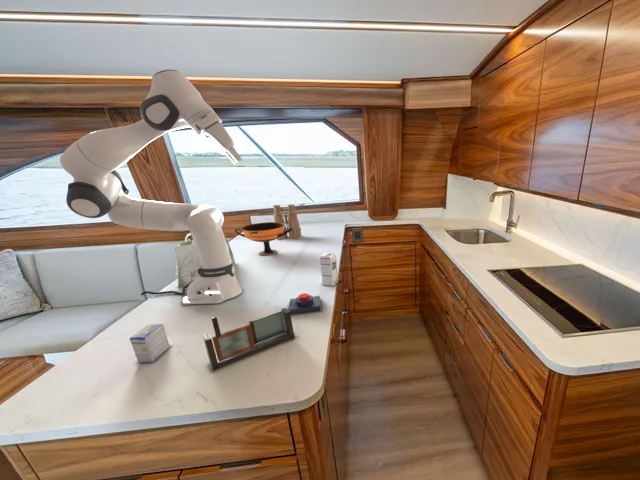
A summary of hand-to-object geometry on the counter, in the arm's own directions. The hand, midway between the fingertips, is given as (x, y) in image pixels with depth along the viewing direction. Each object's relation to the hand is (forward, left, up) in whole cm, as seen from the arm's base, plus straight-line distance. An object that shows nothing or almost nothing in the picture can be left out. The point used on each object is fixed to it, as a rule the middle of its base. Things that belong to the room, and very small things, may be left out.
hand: (238, 162), depth 103 cm
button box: (+16, -6, -56) cm, 58 cm away
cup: (-11, +80, -56) cm, 99 cm away
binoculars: (-2, +119, -56) cm, 132 cm away
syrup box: (+27, +17, -56) cm, 64 cm away
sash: (-2, -35, -54) cm, 64 cm away
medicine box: (-28, -26, -56) cm, 68 cm away
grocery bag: (-35, +47, -56) cm, 81 cm away
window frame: (+2, -32, -56) cm, 64 cm away
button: (+16, -6, -52) cm, 55 cm away
